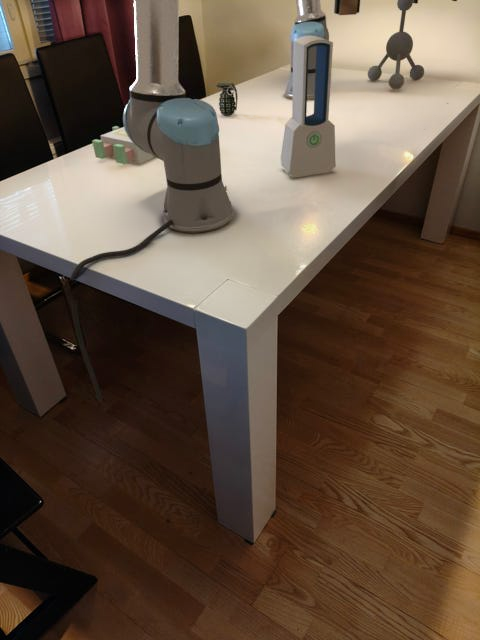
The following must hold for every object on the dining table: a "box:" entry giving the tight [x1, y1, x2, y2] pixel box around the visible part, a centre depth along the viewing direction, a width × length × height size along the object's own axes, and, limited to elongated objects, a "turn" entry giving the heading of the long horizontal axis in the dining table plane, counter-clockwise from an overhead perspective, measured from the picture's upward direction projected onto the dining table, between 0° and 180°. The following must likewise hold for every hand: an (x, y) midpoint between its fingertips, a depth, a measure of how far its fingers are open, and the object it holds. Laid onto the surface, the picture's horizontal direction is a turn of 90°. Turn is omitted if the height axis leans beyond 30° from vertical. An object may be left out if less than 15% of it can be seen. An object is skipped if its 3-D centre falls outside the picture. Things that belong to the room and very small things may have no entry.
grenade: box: [215, 82, 238, 117], centre depth 166 cm, size 7×6×10 cm
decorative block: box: [91, 125, 156, 165], centre depth 142 cm, size 26×6×20 cm
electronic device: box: [280, 35, 336, 179], centre depth 117 cm, size 12×8×30 cm, turn 105°
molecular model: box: [367, 0, 425, 91], centre depth 184 cm, size 24×22×30 cm
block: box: [337, 0, 358, 16], centre depth 119 cm, size 4×4×5 cm
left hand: (346, 12), depth 120 cm, fingers closed on block, 4 cm apart
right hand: (434, 2), depth 170 cm, fingers open, 13 cm apart
